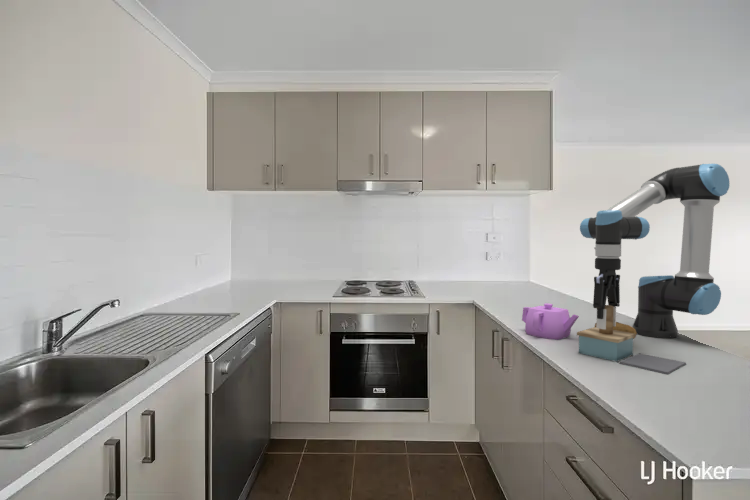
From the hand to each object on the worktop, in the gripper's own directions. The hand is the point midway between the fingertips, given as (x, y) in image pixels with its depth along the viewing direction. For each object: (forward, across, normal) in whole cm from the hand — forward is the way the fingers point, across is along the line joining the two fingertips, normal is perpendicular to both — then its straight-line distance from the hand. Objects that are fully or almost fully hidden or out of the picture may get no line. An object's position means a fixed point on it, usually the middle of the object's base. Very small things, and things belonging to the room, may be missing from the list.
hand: (606, 327), depth 145 cm
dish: (+9, 0, 0) cm, 9 cm away
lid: (+3, 0, 0) cm, 3 cm away
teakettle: (+9, -10, -26) cm, 29 cm away
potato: (+9, -16, -4) cm, 19 cm away
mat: (+9, 0, +14) cm, 17 cm away
